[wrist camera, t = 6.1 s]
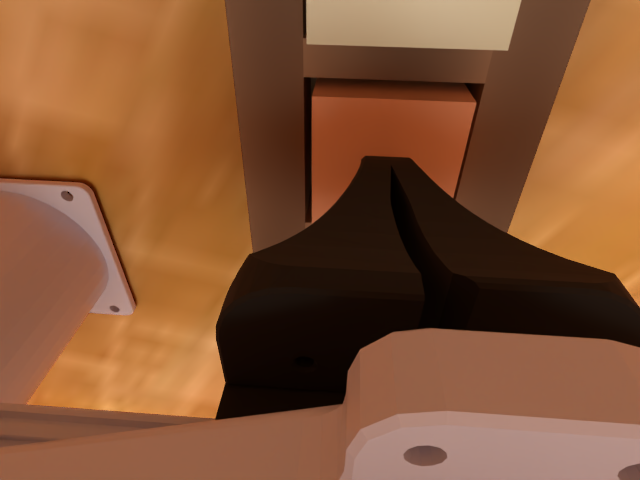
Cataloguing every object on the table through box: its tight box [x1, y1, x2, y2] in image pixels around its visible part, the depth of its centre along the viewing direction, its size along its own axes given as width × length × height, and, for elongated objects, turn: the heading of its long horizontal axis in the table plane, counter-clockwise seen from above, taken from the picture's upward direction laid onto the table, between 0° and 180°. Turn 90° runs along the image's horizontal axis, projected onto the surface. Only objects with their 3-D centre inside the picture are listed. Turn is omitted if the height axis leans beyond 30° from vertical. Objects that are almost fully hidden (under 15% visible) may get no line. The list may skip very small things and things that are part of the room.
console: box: [225, 0, 590, 253], centre depth 12 cm, size 9×26×3 cm, turn 179°
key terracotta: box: [312, 78, 477, 224], centre depth 13 cm, size 4×4×2 cm
